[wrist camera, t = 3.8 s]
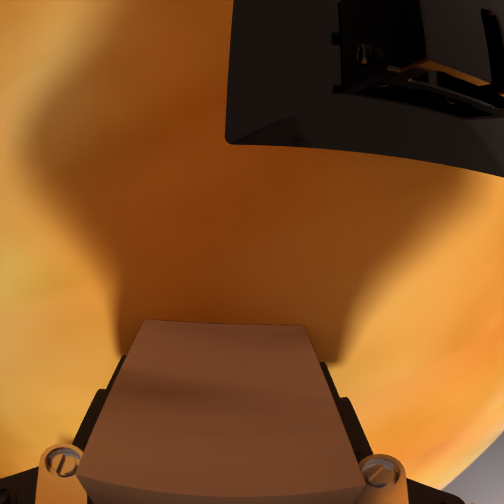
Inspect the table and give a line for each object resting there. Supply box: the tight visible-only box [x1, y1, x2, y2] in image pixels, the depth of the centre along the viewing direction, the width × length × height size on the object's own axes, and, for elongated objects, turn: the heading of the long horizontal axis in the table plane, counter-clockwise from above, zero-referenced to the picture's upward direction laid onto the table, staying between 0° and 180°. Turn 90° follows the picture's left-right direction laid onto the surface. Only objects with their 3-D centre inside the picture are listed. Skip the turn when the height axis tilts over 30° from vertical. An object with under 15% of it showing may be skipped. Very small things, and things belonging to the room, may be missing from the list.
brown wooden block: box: [75, 319, 366, 504], centre depth 7 cm, size 5×5×6 cm
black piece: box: [225, 0, 504, 177], centre depth 6 cm, size 13×8×5 cm, turn 89°
